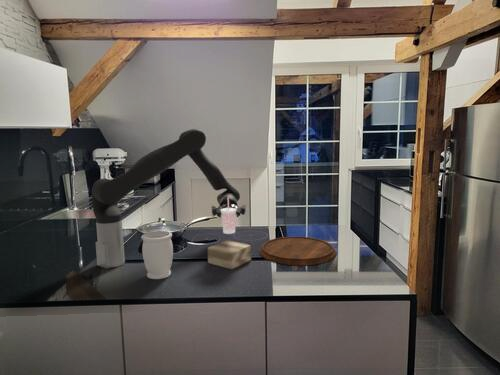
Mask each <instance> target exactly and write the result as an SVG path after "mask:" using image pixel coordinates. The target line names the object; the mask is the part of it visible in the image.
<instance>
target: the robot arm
mask: <svg viewBox="0 0 500 375" xmlns="http://www.w3.org/2000/svg"><path fill="white" fill-rule="evenodd" d="M206 140H207V138H206V134H205V132H204V131H202V130H200V129H198V128H197V129H196V128H192V129H188V130H185V131H183V132H182V133H181V134H179V137H178V139H177V140H175V141H174V142H172V143H171V142H170V143H169V144H166V145H163V146H162V147H159V148H157V149H154V150H152V151H151V152H149V153H147V154H145V155H143V156H142V157H141V158H139V159H138V160H137V161H136V162H135V163H134V164H133V165H132V166H131V168H129V169H128V170H127V171H126V172H123V173H122V174H120V175H118V176H116V177H114V178H111V179H109V178H99V179H98V180H96V181H95V182H94V183H93V185H92V188H91V201H92V209H93V214H94V217H95V221H96V222H95V223H96V224H95V225H96V236H97V241H95V251H96V252H95V253H96V264H97V266H98V267H101V268H103V269H105V270H106V269H110V268H111V269H112V268H117V267H121V266H122V265H124V264H125V263H126V260H125V259H126V257H125V245H124V232H123V229H124V228H123V218H122V215H123V214H122V211H120V209H119V206H118V203H119V202H120V201H121V200H122V199H124V198H125V197H126V196H127V195H129V194H130V193H131V192H132V191H134V190H135V189H136V188H138V187H140V186H142V185H143V184H146V183H147V182H149V181H150V180H152V179H154V178H155V177H157V176H159V175H160V174H162V173H164V172H165V171H166V170H167V169H170V168H171V167H172V166H173V165H175V164H176V163H177V162H179V161H180V160H182V159H183V158H185V157H187V156H188V157H189V158H190V159H191V160H192V161H193V162H194V164H195V165H196V166H197V167H198V169H200V171H201V172H202V174H203V175H204V177H205V178H206V180H207V181H208V183H209V184H210V185H211V187H212V189H213V190H215V191H221V190H225V191H222V192H221V193H220V194H218V195H217V196H216V200H217V203H218V205H219V206H218V207H217V206H215V205H212V206H211V214H212V216H214V217H215V216H216V217H218V218H219V219H220V218H221V219H222V214H221V209H223V208H228V197H229V208H235V209H237V210H236V218H239V217H240V216H241V215H242V216H243V215H244V216H245V214H246V211H247V210H246V205H245V204H243V205H241V206H239V205H238V201H239V200H240V198H241V195H240V192H239V191H238V189H237V188H235V186H233V185H231V183H230V182H228V180H227V179H226V177H225V176H224V174H223V173H222V170H221V169H219V167H218V166H217V165H216V164H215V163H214V162H213V161H212V160H210V159H209V157H207V155H205V153H204V152H203V150H202V148H203V147H204V146H205V144H206Z"/></svg>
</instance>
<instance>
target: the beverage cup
mask: <svg viewBox="0 0 500 375" xmlns="http://www.w3.org/2000/svg"><path fill="white" fill-rule="evenodd" d="M236 210H237V209H235V208H229V197H228V208H223V209H221V214H222V215H221V221H222V223H221V224H222V233H223V234H226V235H232V234H235V233H236V218H237V215H236Z"/></svg>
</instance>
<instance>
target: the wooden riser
mask: <svg viewBox="0 0 500 375" xmlns="http://www.w3.org/2000/svg"><path fill="white" fill-rule="evenodd" d="M250 261H252V245H251V244H247V243H242V242H238V241H237V242H236V241H232V240H228V239H227V240H225V241H222V242H219V243H216V244H215V245H212V246H208V247H207V263H208V264H211V265H215V266H217V267H218V266H219V267H221V268H222V267H223V268H226V269H230V270H234V269H235V268H238V267H240V266H242V265H243V264H246V263H247V262H248V263H249V262H250Z"/></svg>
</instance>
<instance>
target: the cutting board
mask: <svg viewBox="0 0 500 375" xmlns="http://www.w3.org/2000/svg"><path fill="white" fill-rule="evenodd" d="M258 253H259V255H260V256H261V258H263V259H265V260H267V261H270V262H272V263H276V264H280V265H286V266H287V265H288V266H313V265H316V266H317V265H320V264H325V263H327V262H330V261H333V260H334V259H335V258H336V257H337V249H335V247H334V246H333V245H332V244H331V243H330V242H327V241H326V240H322V239H320V238H315V237H307V236H281V237H276V238H273V239H269V240H267V241H265V242H263V244H262V245H261V246H260V247H259V250H258Z"/></svg>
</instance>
